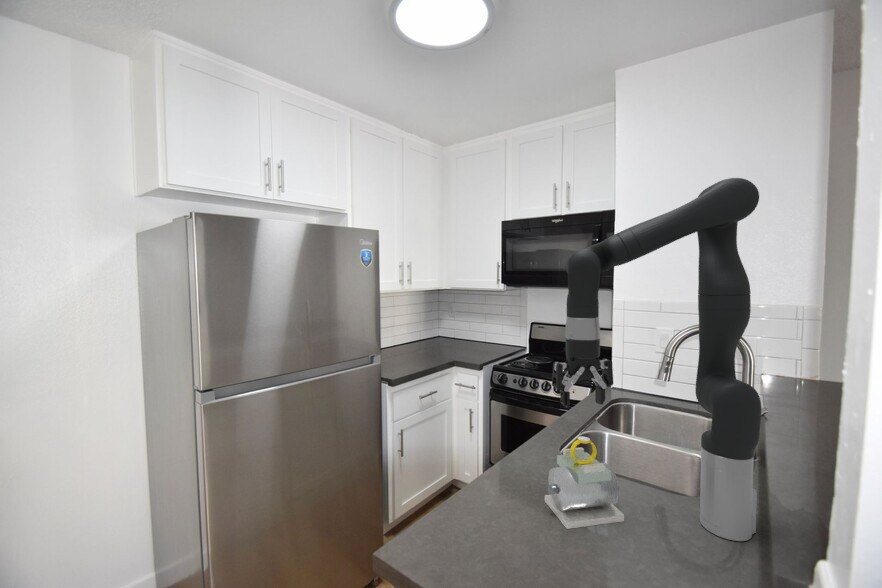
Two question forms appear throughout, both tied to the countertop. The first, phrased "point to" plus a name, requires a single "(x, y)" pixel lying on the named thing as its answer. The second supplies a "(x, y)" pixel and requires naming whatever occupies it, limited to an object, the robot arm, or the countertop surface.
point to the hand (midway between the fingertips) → (582, 405)
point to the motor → (583, 491)
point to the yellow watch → (584, 441)
